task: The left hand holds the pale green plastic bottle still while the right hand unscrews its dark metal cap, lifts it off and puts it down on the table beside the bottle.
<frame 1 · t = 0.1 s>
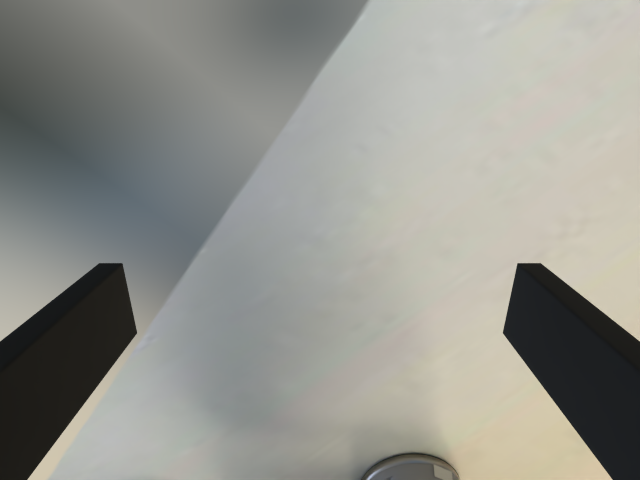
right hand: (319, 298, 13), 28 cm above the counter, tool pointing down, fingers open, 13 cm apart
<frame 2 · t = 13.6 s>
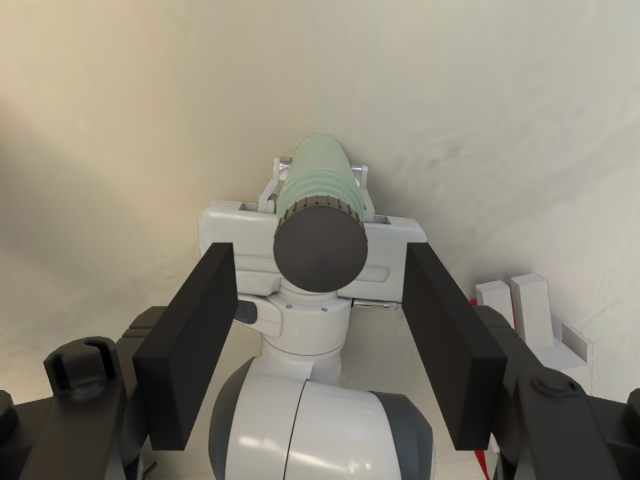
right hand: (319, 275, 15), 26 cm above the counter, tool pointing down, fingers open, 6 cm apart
left hand: (320, 161, 32), fingers closed on bottle, 5 cm apart
toy: (499, 370, 48), on the counter
cap: (320, 248, 17), point 23 cm above the counter, screwed on, not yet turned
bottle: (320, 159, 38), on the counter, touching left hand
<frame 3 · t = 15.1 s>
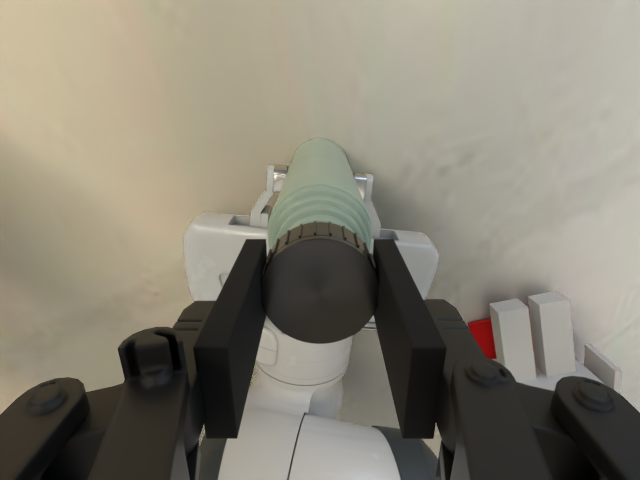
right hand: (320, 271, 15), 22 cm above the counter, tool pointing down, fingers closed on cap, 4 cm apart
toy: (513, 392, 45), on the counter
cap: (319, 290, 13), point 23 cm above the counter, screwed on, not yet turned, touching right hand
bottle: (319, 166, 35), on the counter, touching left hand
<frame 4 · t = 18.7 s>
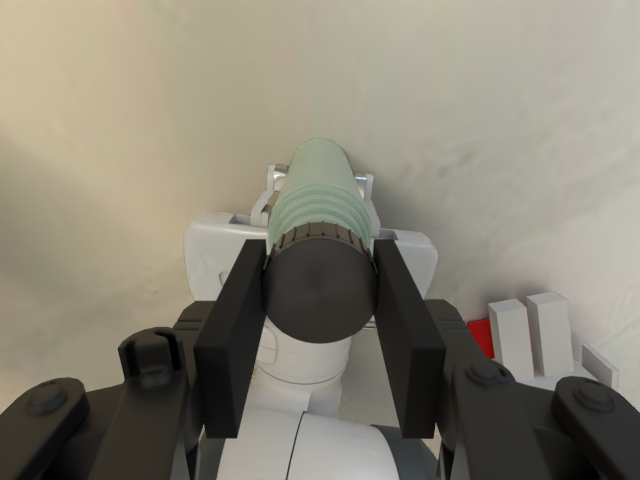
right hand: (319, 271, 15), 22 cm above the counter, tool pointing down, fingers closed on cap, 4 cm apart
toy: (511, 391, 45), on the counter
cap: (319, 290, 13), point 23 cm above the counter, turned 122° so far, risen 0.1 cm, still on its thread, touching right hand
bottle: (319, 166, 35), on the counter, touching left hand
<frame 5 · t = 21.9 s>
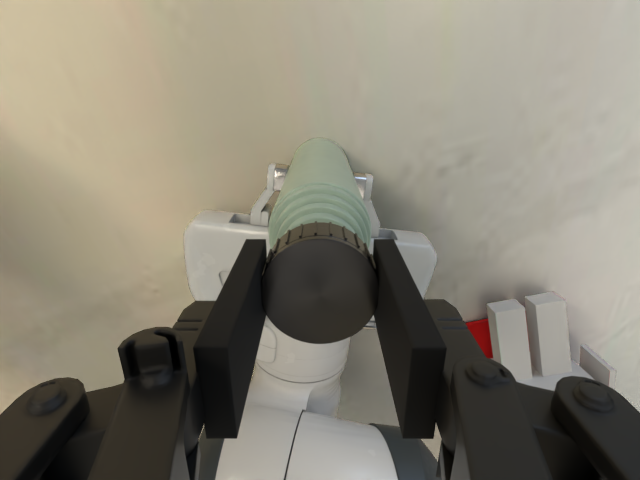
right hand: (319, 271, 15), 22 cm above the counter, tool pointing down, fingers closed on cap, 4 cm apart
toy: (509, 391, 45), on the counter
cap: (319, 290, 13), point 23 cm above the counter, turned 245° so far, risen 0.3 cm, still on its thread, touching right hand
bottle: (319, 166, 35), on the counter, touching left hand
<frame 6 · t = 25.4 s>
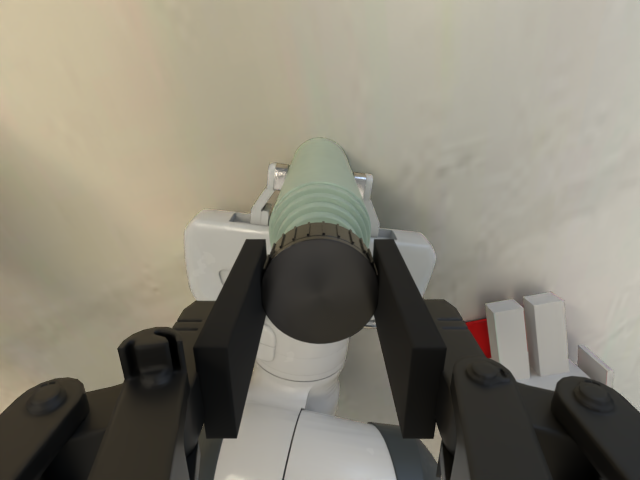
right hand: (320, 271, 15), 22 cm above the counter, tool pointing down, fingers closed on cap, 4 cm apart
toy: (507, 391, 45), on the counter
cap: (319, 290, 13), point 24 cm above the counter, turned 367° so far, risen 0.4 cm, still on its thread, touching right hand
bottle: (319, 165, 35), on the counter, touching left hand
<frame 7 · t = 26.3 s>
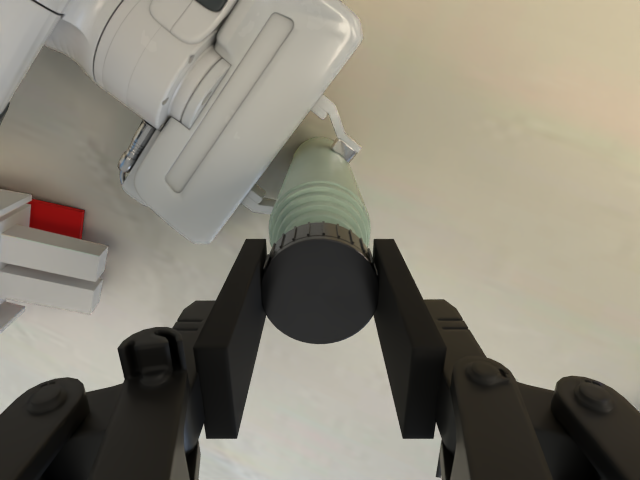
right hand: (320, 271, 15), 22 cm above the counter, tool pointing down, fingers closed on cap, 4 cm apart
left hand: (328, 186, 30), fingers closed on bottle, 5 cm apart
cap: (319, 290, 13), point 24 cm above the counter, off its thread, touching right hand
bottle: (319, 165, 35), on the counter, touching left hand
when the right hand's fingers open (2 cm above the counter, at t = 31.6 s): cap drops 2 cm, point 1 cm above the counter.
when the left hand's fingers open (6 cm above the counter, at t = 33.0 s): bottle stays where it is, on the counter.
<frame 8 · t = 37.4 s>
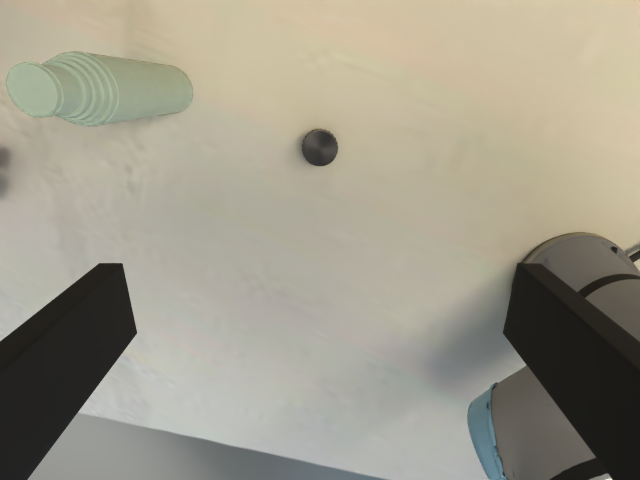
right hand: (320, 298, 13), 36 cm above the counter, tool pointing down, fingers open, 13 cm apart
cap: (320, 148, 45), point 1 cm above the counter, off its thread
bottle: (170, 89, 44), on the counter
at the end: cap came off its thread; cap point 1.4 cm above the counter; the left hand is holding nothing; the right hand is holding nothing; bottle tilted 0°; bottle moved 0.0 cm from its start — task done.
